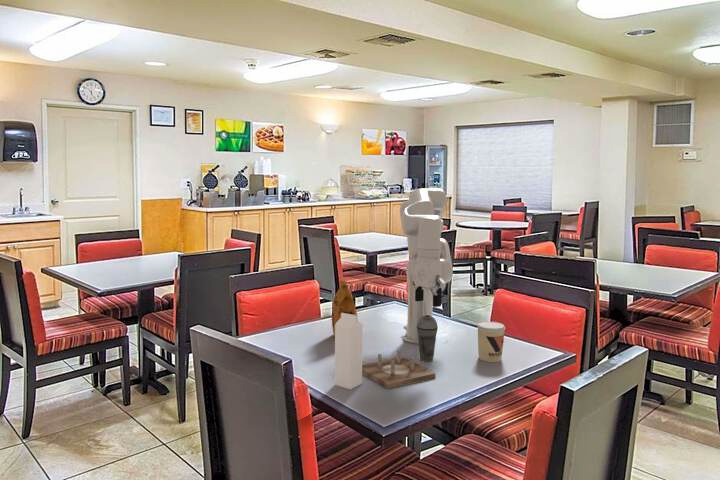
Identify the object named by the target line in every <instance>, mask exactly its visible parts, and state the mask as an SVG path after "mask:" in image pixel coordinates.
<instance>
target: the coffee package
mask: <svg viewBox="0 0 720 480" xmlns="http://www.w3.org/2000/svg"><path fill="white" fill-rule="evenodd" d="M339 284H340V287H339V289H338V290H337V292H336V293H335V295H334V297H333V302H332V312H331V326H332V333H333V335H334V337H335V324H336V323H337V322H338V320H339V319H340V318H341V313H346V314H351V315H356V316H357V317H358V312H357V310H356V305H355V301H354V298H353V294H352V292H351V290H350V287H348V286H349V282H348V281H346V280H344V279H341V280H339ZM357 321H358V322H359V320H358V319H357Z"/></svg>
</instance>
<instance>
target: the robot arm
mask: <svg viewBox="0 0 720 480" xmlns="http://www.w3.org/2000/svg"><path fill="white" fill-rule="evenodd" d="M447 202H448V199H447V193H446V192H445V191H444V190H443V189H442V188H425V187H424V188H423V187H421V188H416V189H413V190H412V191H411V192H410V194H409V197H408V200H405V201H403V202H402V203H401V204H400V208H399V218H400V224H401V230H402V232H403V234H404V235H405V236H406V238H407V240H406V241H407V248H408V249H407V250H408V251H407V252H408V256H409V258H410V259H409V260H408V261H407V262H406V265H405V272H406V280H407V322H406V323H407V324H406V325H403V329H404V330H406V332H405V333H404V334H403V336H402V338H403V339H402V340H404V341H405V342H407V343H410V344H415V345H416V344H418V345H419V340H418V331H417V323H418V321H419V319H420V318H421V317H422V316H425V313H424V303H425V308H426V315H429V316H432V317H433V315H434V314H433V308H438V307H441V306H442V296H443V294H444V292H445V290H446V286H447V284H448V283H450V282H451V281H452V279H453V277H454V276H453V275H454V273H453V271H454V270H453V263H452V256H451V252H450V246H449V242H448V241H447V240H446V239H445V238H441V237H442V236H441V235H442V232H443V231H444V220H443V219H442V218H443V216H444V213H445V211H446V208H447V204H448V203H447ZM431 290H432V291H431Z"/></svg>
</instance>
